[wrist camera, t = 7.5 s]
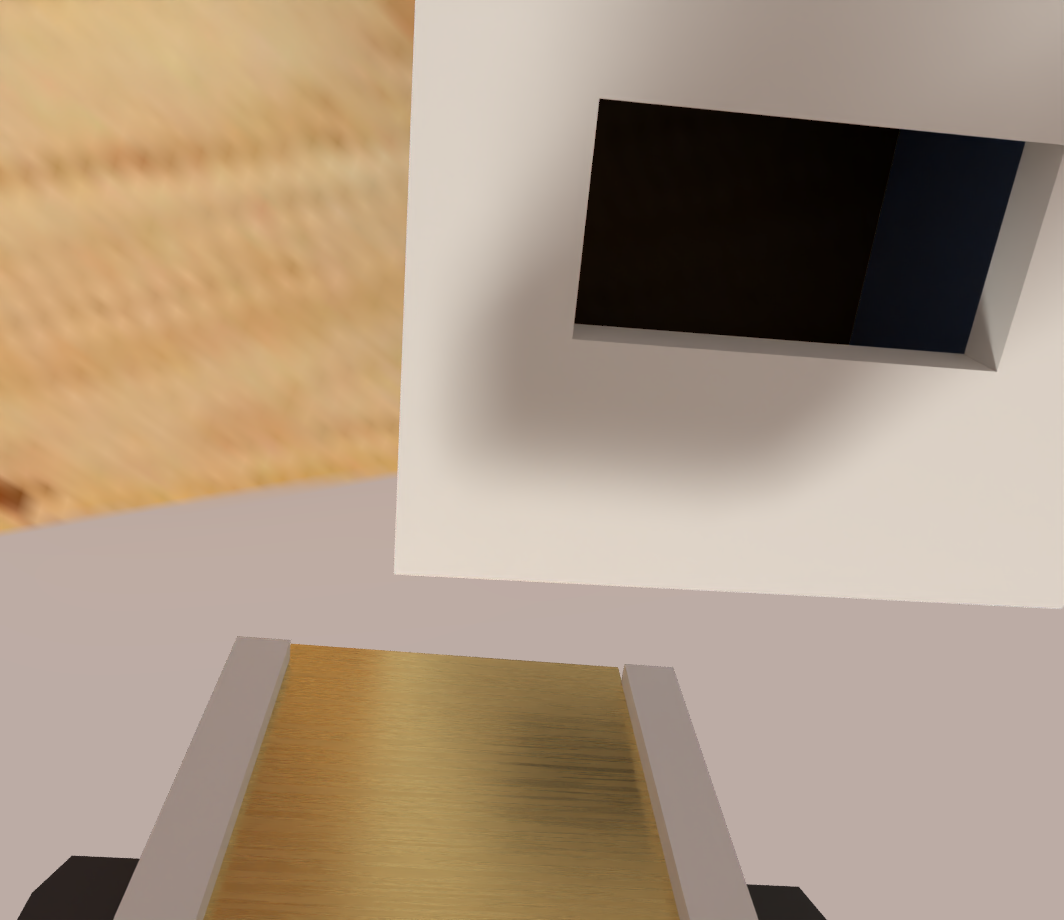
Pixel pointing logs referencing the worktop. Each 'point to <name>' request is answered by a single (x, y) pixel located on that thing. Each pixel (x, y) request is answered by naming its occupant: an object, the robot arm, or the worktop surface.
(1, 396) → the worktop surface
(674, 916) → the wooden toy block
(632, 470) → the coin box
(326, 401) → the worktop surface
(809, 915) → the robot arm
